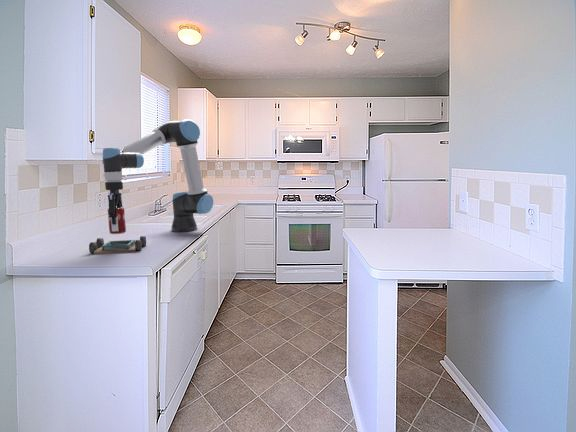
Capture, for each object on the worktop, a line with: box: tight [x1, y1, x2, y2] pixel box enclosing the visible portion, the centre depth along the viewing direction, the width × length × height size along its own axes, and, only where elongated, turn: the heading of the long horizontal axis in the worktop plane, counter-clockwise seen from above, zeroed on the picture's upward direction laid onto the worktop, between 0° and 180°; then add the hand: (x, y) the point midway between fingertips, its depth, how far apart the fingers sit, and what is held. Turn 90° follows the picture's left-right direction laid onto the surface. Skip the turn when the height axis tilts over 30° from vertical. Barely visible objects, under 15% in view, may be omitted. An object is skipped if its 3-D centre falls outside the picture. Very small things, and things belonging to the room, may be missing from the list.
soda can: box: [107, 206, 127, 235], centre depth 186 cm, size 7×7×12 cm
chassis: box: [88, 235, 147, 255], centre depth 187 cm, size 16×22×5 cm
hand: (117, 229), depth 186 cm, fingers closed on soda can, 7 cm apart
